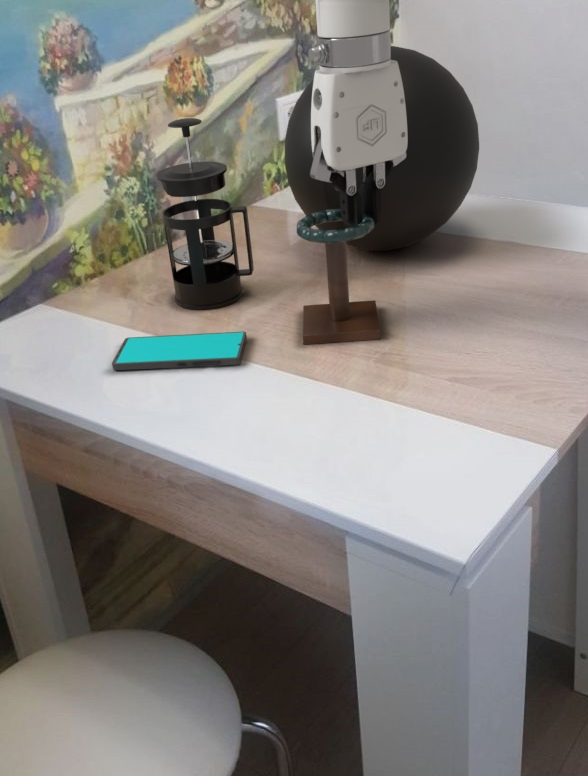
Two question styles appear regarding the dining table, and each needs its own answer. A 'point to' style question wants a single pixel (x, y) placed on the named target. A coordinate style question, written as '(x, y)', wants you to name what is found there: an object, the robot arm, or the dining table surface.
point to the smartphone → (180, 351)
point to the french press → (202, 233)
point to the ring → (332, 235)
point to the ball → (412, 175)
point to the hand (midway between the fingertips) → (361, 222)
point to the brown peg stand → (339, 307)
